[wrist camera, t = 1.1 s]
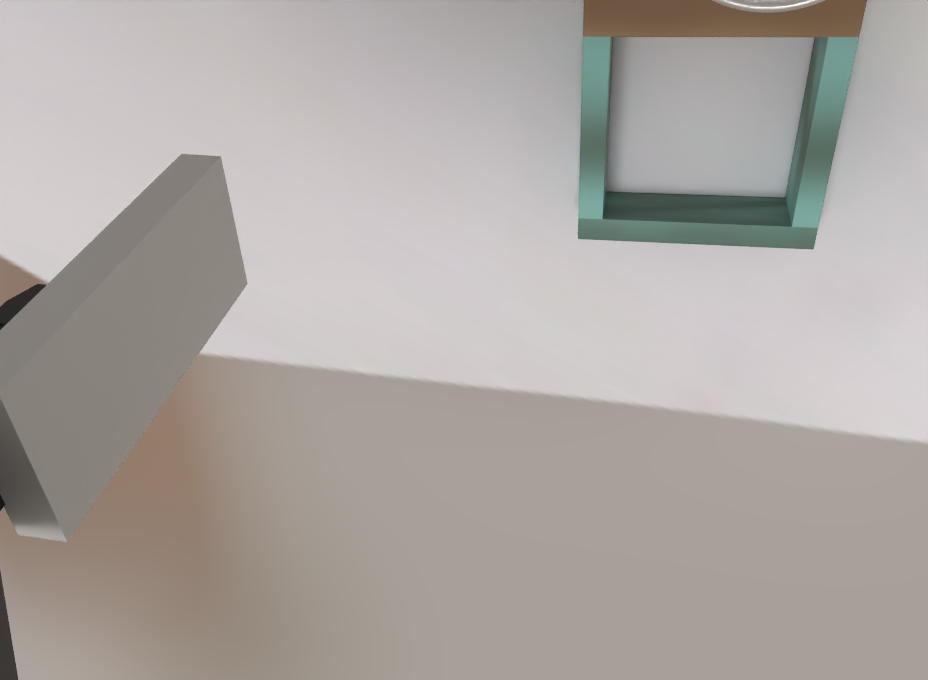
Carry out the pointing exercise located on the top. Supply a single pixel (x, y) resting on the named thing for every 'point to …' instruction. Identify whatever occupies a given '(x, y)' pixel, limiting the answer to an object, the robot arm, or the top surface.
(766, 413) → the top surface
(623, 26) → the holder board
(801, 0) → the beverage can
